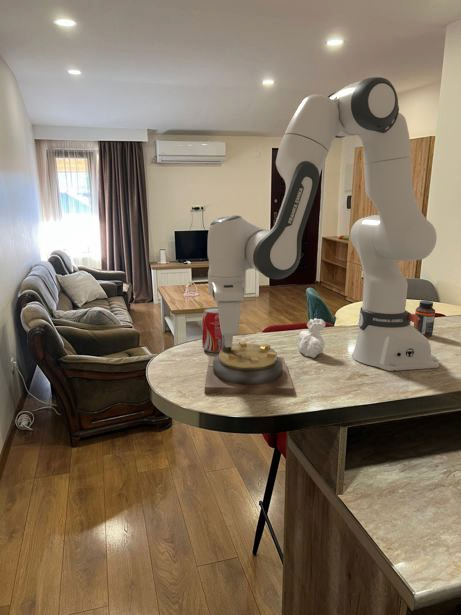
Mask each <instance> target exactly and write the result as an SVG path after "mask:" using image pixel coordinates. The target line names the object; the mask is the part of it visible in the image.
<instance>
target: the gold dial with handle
mask: <svg viewBox="0 0 461 615" xmlns="http://www.w3.org/2000/svg"><path fill="white" fill-rule="evenodd" d="M218 355H219V362H220V363H221V364H222V365H223V366H225V367H227V368H229V369H233V370H238V371H261V370H266V369H269V368H272V367H273V366H275V365H276V361H277V357H278V353H277V351H276V350H274V349H273V348H271V345H270V344H268V343H262V344H255V343H254V344H253V343H246V341H245V340H243V341H242V340H241V341H240V340H239V341H238V344H237V343H236V344H232V347H225V339H224V335H222V349H221V350H220V352H218Z"/></svg>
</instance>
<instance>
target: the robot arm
mask: <svg viewBox="0 0 461 615" xmlns="http://www.w3.org/2000/svg"><path fill="white" fill-rule="evenodd" d="M399 111H400V106H399V98H398V94H397V91H396V88H395V86H394V85H393V84H392V83H391V81H390V80H389V79H387V78H385V77H381V76H380V77H379V76H376V77H375V76H373V77H367V78H364V79H363V80H360V81H356V82H352V83H351V84H348V85H346V86H344V87H343V88H341V89H339V90H338V91H334V92H333V93H331V94H329V95H328V96H326V95H323V94H310V95H308V96H307V97H305V98H304V99H303V100H302V101H301V102H300V104H299V105H298V107H297V109H296V110H295V112H294V114H293V115H292V118H291V120H290V121H289V123H288V125H287V127H286V130H285V132H284V135H283V137H282V139H281V141H280V143H279V146H278V150H277V154H276V159H275V166H276V169H277V172H278V173H279V175H280V177H281V178H282V179H283V181H284V184H285V192H284V197H283V199H282V202H281V206H280V208H279V210H278V214H277V217H276V220H275V223H274V225H273V226H272V228H271V229H270V230H267V229H264V228H262V227H259V226H256V225H254V224H252V223H251V222H248V221H247V220H246V219H244V218H243V217H242V216H240V215H230V216H229V215H228V216H222V217H218V218H216V219H214V220H213V221H212V222H211V223H210V225H209V227H208V233H207V260H208V262H209V267H208V271H207V278H208V279H207V283H208V287H207V288H208V290H207V291H208V292H207V293H208V295H210V296H211V297H212V298H213V301H214V302H215V304H216V306H217V307H216V308H218V313H219V321H220V328H221V333H222V335H224V339H225V347H232V345H233V338H234V336H237V335H238V333H239V328H240V320H241V319H240V318H241V306H242V305H241V304H242V302H243V301H244V298H245V297H244V295H246V292H247V291H246V290H247V289H246V287H247V286H246V285H247V284H246V282H247V280H246V278H247V276H246V271H247V270H248V269H249V270H250V269H253V270H255V271H256V272H259V273H260V274H261V275H263V276H265V277H266V278H268V279H271V280H282V279H285V278H287V277H288V276H291V275H292V274H293V273H294V272H295V271H296V269H297V268H298V266H299V264H300V261H301V256H302V240H303V234H304V231H305V228H306V225H307V222H308V220H309V216H310V213H311V211H312V210H311V209H312V207H313V204H314V200H315V197H316V195H317V191H318V187H319V183H320V176H321V173H322V169H323V167H324V164H325V162H326V159H327V157H328V154H329V151H330V149H331V147H332V145H333V144H332V143H333V142H334V140H335V138H337V139H341V138H345V137H353V136H358V137H359V138H360V141H361V142H362V147H363V169H364V170H363V171H364V172H363V173H364V190H365V191H364V192H365V194H366V197H367V198H368V199H369V201H371V202H372V203H373V205H374V207H375V209H376V211H377V214H373V215H369V216H368V215H367V216H366V217H361V218H360V219H358V220H356V221H355V222H354V223H353V225H352V227H351V230H350V234H349V238H350V243H351V245H352V246H353V248H354V249H355V250H356V252H357V254H358V257H359V260H360V261H359V262H360V265H361V269H362V277H363V288H362V289H363V292H362V304H361V307H360V309H359V310H360V311H359V315H358V316H359V317H358V327H359V330H358V335H357V338H356V339H357V340H356V343H355V346H354V349H353V351H352V353H351V357H352V358H353V360H355V361H357V362H359V363H361V364H364V365H368V366H372V367H376V368H378V369H382V370H385V371H387V372H388V371H390V372H392V371H394V370H395V371H407V370H422V369H437V368H439V367H440V361H439V359H438V358H437V357H436V356H435V355H434V354H432V348H431V343H430V341H429V339H428V337H425V336H424V335H422V334H421V333H420V332H419V331H418V330H417V329H415V328H414V325H412V324H411V323H413V324H414V323H415V322H417V321H418V320H417V319H418V318H419V317H417V315H415V313H411V312H409V311H408V310H406V306H407V296H408V295H407V294H408V287H409V286H408V285H409V284H408V281H407V278H406V277H405V276H404V275H403V273H402V272H401V270H400V267H399V264H398V261H402V262H412V261H413V262H414V261H420V260H424V259H427V258H428V257H429V256H430V255H431V253H433V250H435V249H434V248H435V246H436V244H437V231H436V230H437V229H436V228H435V226H434V225H433V224H432V223H431V221H430V220H428V219H427V218H426V217H425V215H424V214H423V212H422V211H421V208H420V206H419V204H418V202H417V201H418V200H417V199H416V195H415V192H414V187H413V172H412V170H413V169H412V154H411V153H412V150H411V140H410V133H409V129H408V128H409V127H408V124H407V120H406V117H405V115H403V114H402V112H399Z"/></svg>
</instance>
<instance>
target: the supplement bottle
mask: <svg viewBox="0 0 461 615" xmlns="http://www.w3.org/2000/svg"><path fill="white" fill-rule="evenodd" d="M433 307H434V302H433V301H429V300H420V301H419V306H417V307H416V308H415V313H414V314H415V315H417V317H419V318H418V319H417V320H418V321H417V322H415V323H414V322H413V327H414V328H415V329H417V330H418V331H419V332H420V333H421V334H422V335H424V336H425V337H426V338H431V337H432V336H433V334H434V325H435V316H436V310H435V308H433Z"/></svg>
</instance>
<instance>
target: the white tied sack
mask: <svg viewBox="0 0 461 615" xmlns="http://www.w3.org/2000/svg"><path fill="white" fill-rule="evenodd" d="M306 326H307V328H308V330H302V331H300V333H299V335H298V336H297V338H296V344H297V345H296V346H297V349H298V352H299V353H301V354H302V355H303V356H305V357H310V358H313V359H314V358H316V357H317V356H318V355H320V354H322V353H323V352H324V348H325V347H326V345H325V340H324V338H323V336H322V335H321V332H323V331H324V329H325V327H326V322H325V321H324V319H322V318H316V317H314V319H312V318H310V319H309V321H308V322H307V324H306Z"/></svg>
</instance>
